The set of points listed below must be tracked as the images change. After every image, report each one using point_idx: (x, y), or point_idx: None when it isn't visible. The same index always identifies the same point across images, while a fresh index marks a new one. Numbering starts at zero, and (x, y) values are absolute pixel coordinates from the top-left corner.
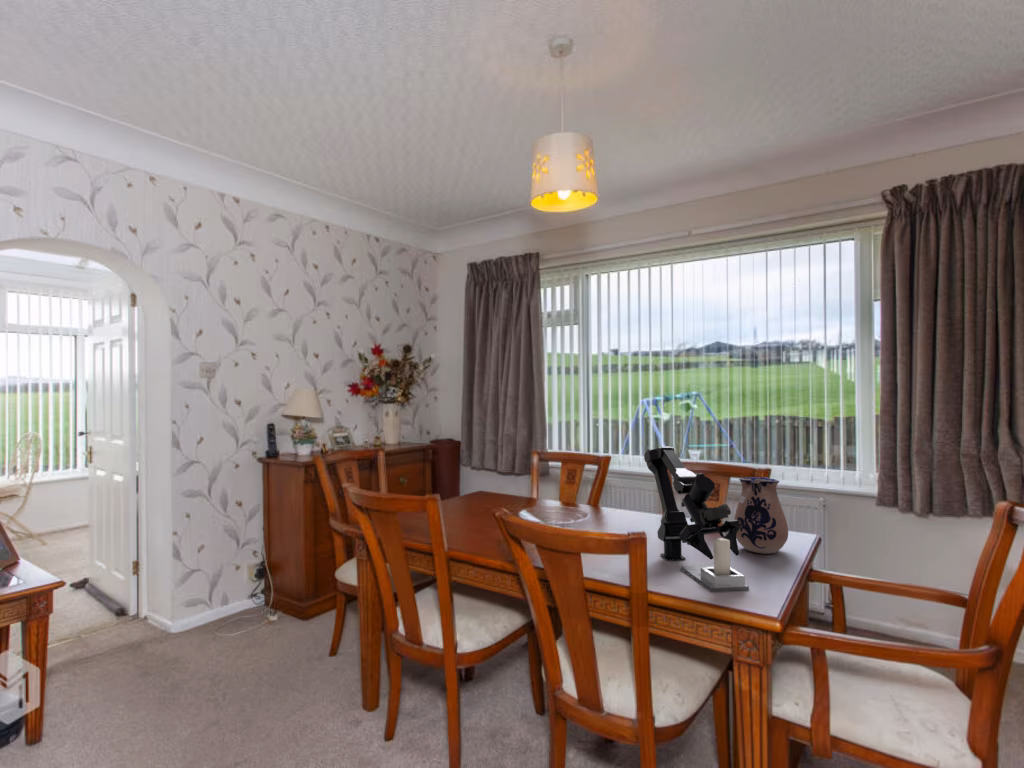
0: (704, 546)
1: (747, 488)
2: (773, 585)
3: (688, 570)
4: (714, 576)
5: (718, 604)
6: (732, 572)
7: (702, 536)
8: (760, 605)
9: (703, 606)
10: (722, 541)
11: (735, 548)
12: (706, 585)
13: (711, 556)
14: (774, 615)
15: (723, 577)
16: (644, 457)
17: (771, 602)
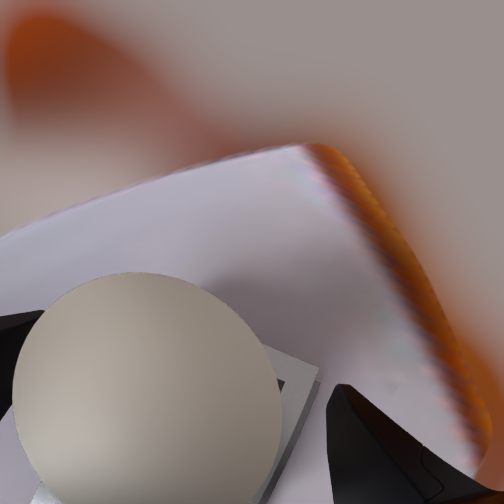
0: (427, 452)
1: None
2: (26, 273)
3: None
4: (310, 379)
5: (385, 279)
6: None
7: (502, 502)
8: (263, 198)
9: (435, 294)
10: (208, 338)
11: (19, 331)
12: (297, 434)
13: (356, 391)
14: (295, 150)
15: (268, 347)
16: None
17: (205, 191)
